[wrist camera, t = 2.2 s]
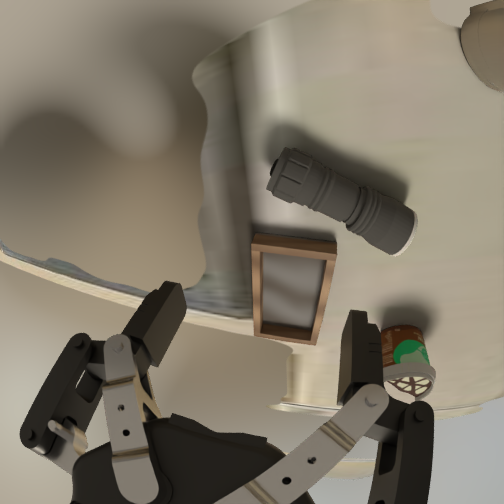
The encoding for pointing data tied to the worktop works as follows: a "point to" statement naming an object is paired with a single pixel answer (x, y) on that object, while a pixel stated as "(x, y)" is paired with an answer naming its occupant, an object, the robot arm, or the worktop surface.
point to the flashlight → (343, 201)
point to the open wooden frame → (290, 286)
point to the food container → (407, 361)
